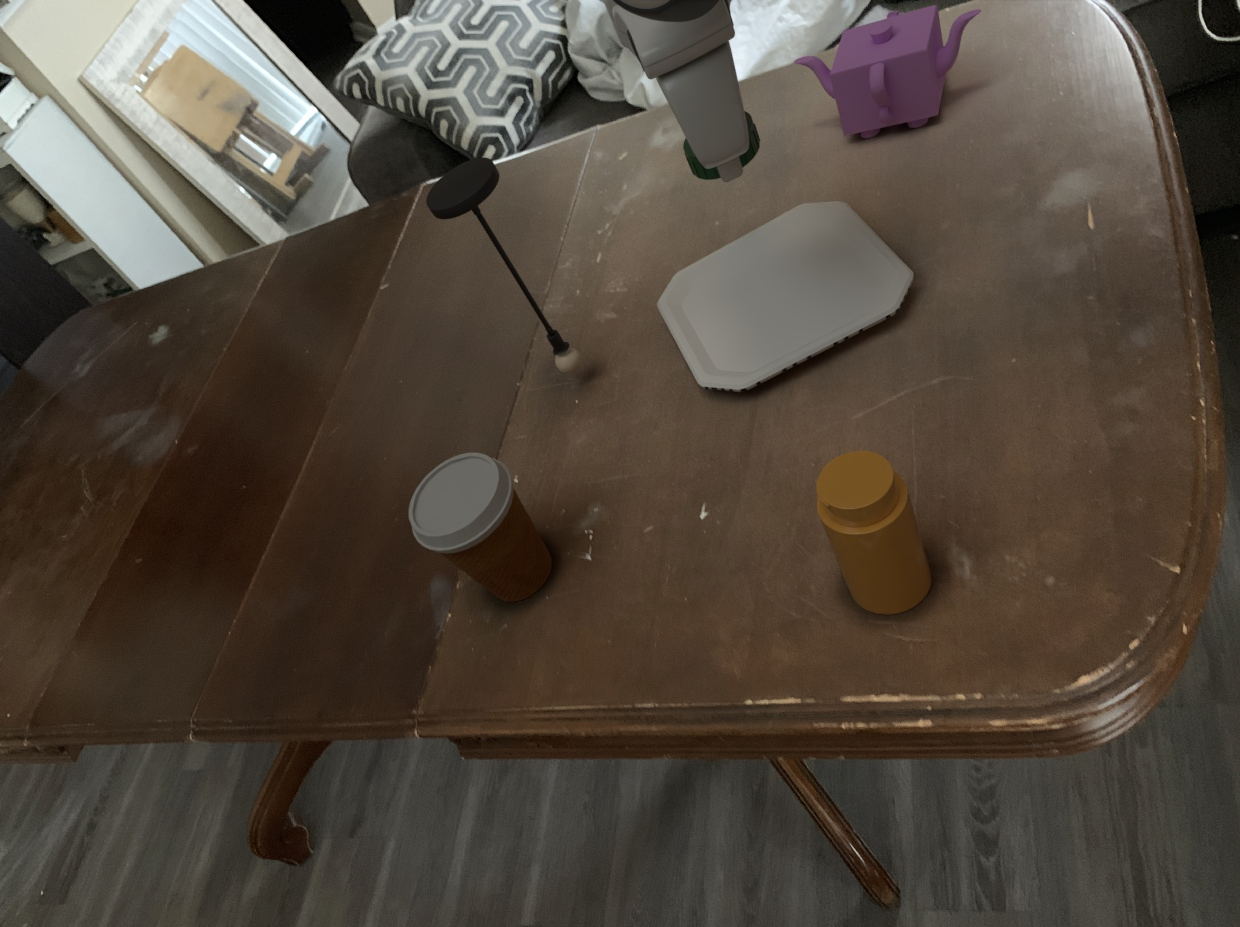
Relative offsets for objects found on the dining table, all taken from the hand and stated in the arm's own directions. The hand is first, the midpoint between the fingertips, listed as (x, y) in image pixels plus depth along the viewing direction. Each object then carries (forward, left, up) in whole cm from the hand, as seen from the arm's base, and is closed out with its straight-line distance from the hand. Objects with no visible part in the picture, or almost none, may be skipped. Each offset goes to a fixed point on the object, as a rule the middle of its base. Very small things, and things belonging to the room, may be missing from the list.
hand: (724, 154), depth 75 cm
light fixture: (+19, -9, -17) cm, 27 cm away
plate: (0, 0, -17) cm, 17 cm away
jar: (+13, +31, -17) cm, 38 cm away
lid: (0, 0, +2) cm, 2 cm away
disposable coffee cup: (+35, +8, -17) cm, 40 cm away
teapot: (-26, -14, -17) cm, 34 cm away
